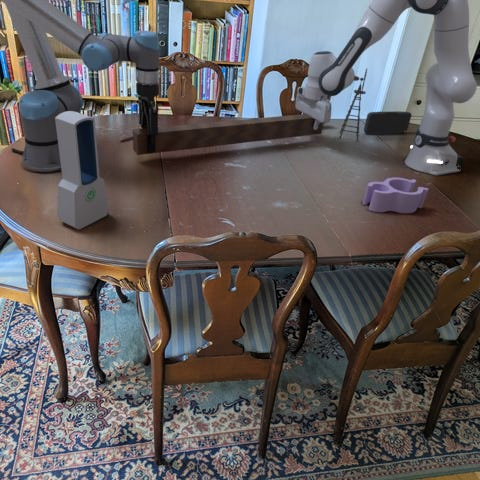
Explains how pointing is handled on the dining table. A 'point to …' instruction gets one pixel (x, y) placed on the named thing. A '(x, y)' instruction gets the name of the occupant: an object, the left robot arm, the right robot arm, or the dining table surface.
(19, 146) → the dining table surface
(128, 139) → the sword
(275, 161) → the dining table surface
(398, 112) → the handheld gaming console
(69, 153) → the electronic device
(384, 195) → the clip
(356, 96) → the miniature windmill
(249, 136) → the post
